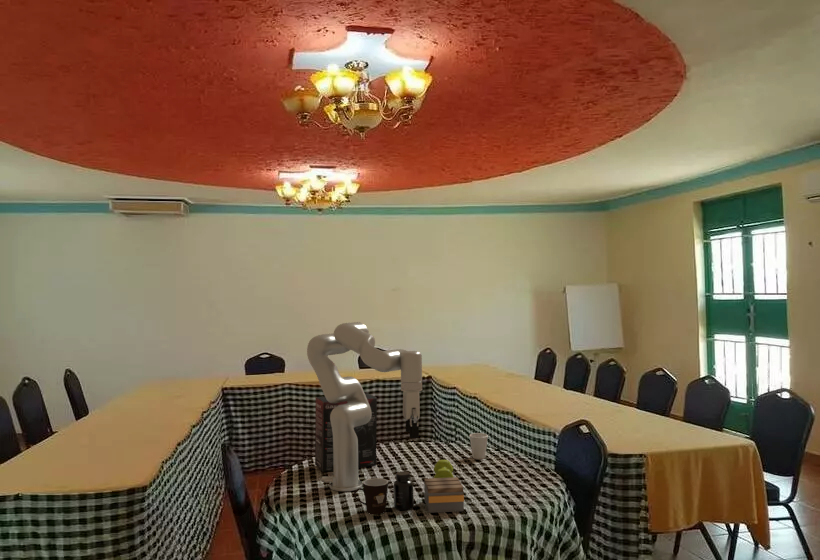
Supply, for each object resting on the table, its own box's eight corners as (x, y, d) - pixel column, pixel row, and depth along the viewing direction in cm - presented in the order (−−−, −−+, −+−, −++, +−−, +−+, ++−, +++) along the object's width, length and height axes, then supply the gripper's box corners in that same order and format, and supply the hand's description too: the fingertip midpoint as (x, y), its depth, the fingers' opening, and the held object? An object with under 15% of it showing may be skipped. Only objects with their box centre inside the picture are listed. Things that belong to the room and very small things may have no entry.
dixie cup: (491, 456, 286) (491, 434, 286) (483, 460, 279) (483, 438, 279) (474, 454, 290) (474, 432, 290) (466, 458, 283) (466, 435, 283)
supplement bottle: (402, 503, 226) (402, 469, 226) (417, 507, 221) (417, 472, 222) (389, 508, 220) (389, 473, 221) (404, 512, 216) (404, 477, 216)
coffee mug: (388, 506, 222) (388, 478, 222) (388, 515, 213) (388, 485, 214) (355, 507, 222) (354, 478, 222) (353, 516, 213) (353, 486, 213)
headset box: (367, 458, 285) (366, 384, 285) (378, 465, 273) (377, 388, 273) (314, 465, 274) (313, 389, 275) (323, 473, 263) (322, 393, 263)
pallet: (428, 493, 216) (428, 488, 216) (424, 482, 228) (424, 478, 228) (463, 491, 217) (463, 487, 217) (457, 481, 229) (457, 477, 229)
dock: (429, 513, 215) (428, 494, 215) (424, 500, 228) (424, 482, 228) (464, 511, 216) (463, 492, 216) (457, 499, 229) (457, 481, 229)
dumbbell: (454, 489, 240) (454, 470, 240) (433, 489, 241) (433, 470, 241) (453, 476, 257) (453, 458, 257) (433, 476, 257) (433, 458, 257)
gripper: (398, 383, 233) (398, 429, 233) (404, 390, 216) (404, 441, 216) (418, 382, 234) (419, 429, 234) (425, 389, 217) (426, 440, 217)
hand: (412, 434), depth 225 cm, fingers open, 9 cm apart
